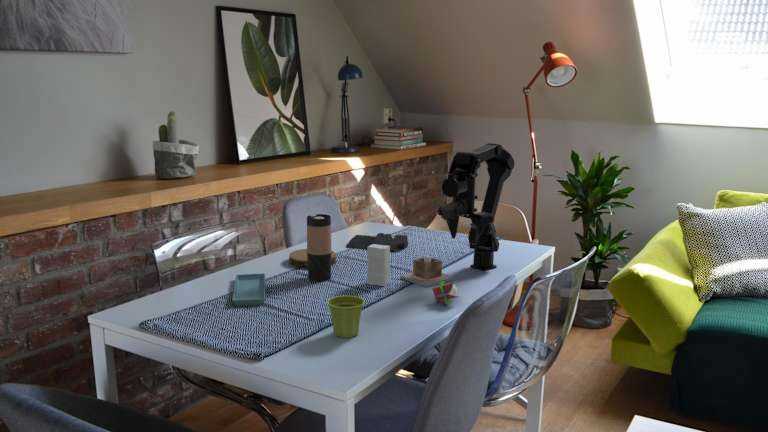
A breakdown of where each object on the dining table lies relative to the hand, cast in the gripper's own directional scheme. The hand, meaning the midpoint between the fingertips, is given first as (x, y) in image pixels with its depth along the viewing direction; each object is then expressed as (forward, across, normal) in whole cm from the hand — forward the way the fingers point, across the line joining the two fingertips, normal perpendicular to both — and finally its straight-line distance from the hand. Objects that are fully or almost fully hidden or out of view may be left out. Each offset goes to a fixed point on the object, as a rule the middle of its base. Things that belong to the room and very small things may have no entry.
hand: (464, 241), depth 227 cm
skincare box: (+12, -12, -25) cm, 30 cm away
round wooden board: (+13, -45, -27) cm, 54 cm away
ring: (+11, -6, -10) cm, 16 cm away
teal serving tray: (+13, -30, -60) cm, 68 cm away
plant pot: (+12, +15, -58) cm, 61 cm away
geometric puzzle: (+12, +14, -22) cm, 29 cm away
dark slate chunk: (+13, -48, +5) cm, 50 cm away
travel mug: (+12, -28, -36) cm, 47 cm away
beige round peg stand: (+12, -6, -10) cm, 17 cm away
